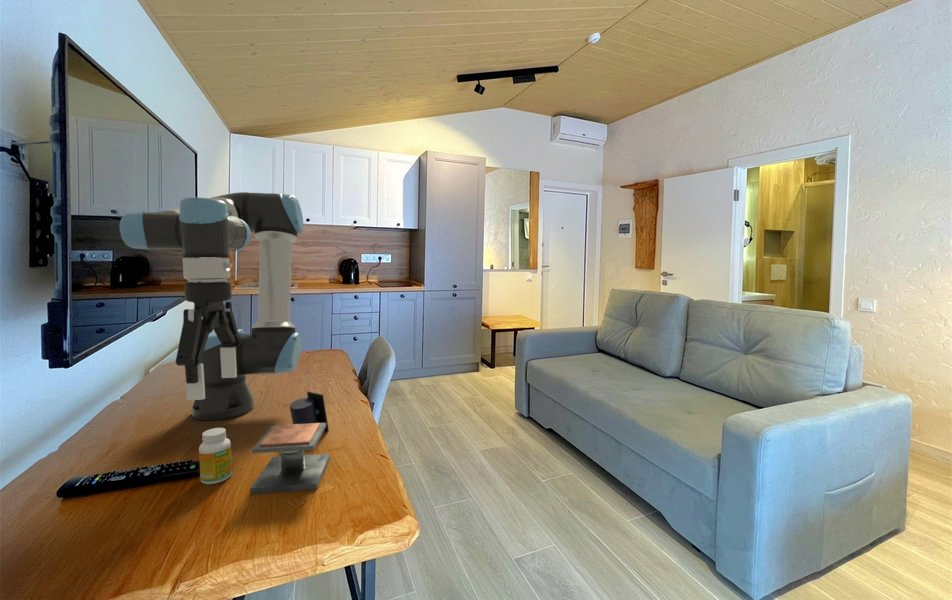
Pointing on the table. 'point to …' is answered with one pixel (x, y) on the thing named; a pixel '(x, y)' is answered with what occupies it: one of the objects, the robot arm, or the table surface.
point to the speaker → (309, 410)
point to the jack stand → (291, 459)
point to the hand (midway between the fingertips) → (214, 387)
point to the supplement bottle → (215, 456)
